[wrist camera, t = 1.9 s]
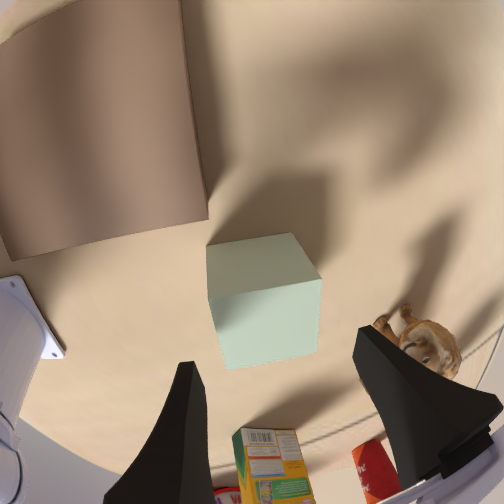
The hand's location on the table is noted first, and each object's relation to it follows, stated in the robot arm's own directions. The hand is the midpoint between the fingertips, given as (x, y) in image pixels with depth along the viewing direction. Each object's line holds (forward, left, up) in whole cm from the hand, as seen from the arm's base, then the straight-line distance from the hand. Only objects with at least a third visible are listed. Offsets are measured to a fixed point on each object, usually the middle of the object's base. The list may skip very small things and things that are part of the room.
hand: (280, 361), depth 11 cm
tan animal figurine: (+11, -10, -7) cm, 16 cm away
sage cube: (0, 0, -7) cm, 7 cm away
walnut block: (-8, +11, -7) cm, 16 cm away
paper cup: (+17, -43, -7) cm, 47 cm away
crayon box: (-1, -23, -7) cm, 24 cm away
